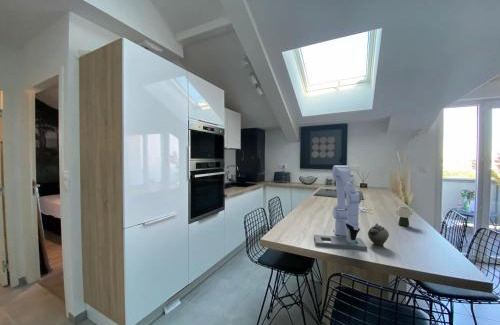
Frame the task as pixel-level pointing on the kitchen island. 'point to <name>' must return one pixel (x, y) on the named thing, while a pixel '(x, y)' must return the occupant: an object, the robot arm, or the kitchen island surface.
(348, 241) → the plug block
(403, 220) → the character mug
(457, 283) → the kitchen island surface
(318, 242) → the grey mounting plate
